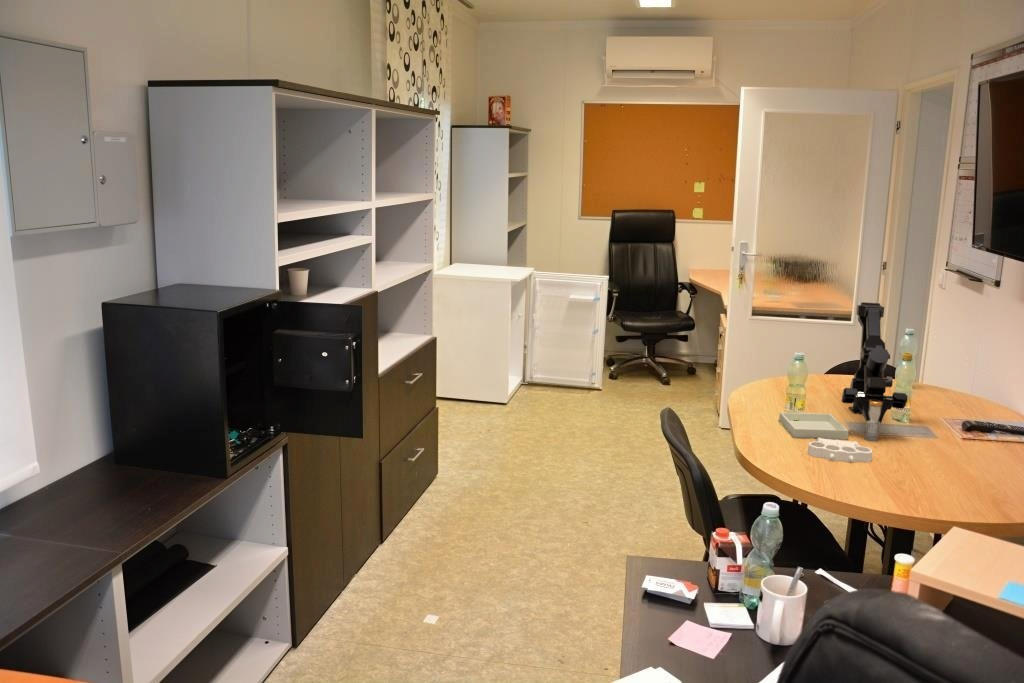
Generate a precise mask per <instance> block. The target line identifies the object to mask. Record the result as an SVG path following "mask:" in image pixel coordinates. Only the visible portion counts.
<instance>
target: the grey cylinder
mask: <svg viewBox="0 0 1024 683" xmlns="http://www.w3.org/2000/svg"><path fill="white" fill-rule="evenodd" d="M882 404H883V401H881V400H878V399H869V410H868V421H866V425H865V426H866V428H865V435H864V441H868V442H870V441H876V442H878V439H879V438H878V436H879V428H880V414H881V406H882Z"/></svg>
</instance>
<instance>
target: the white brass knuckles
mask: <svg viewBox="0 0 1024 683" xmlns="http://www.w3.org/2000/svg"><path fill="white" fill-rule="evenodd" d="M807 445H808V446H807V455H809V456H811V457H813V458H821V459H826V460H829V461H833V462H844V463H858V462H859V463H870V462H872V459H873V452H874V450H873V449H872V448H870V447H868V446H865V445H864V446H863V445H860V444H859V442H858V441H855V440H854V441H850V440H849V441H848V440H842V439H822V438H817V439H816V441H815V440H813V441H812V440H811V441H810V442H808V444H807Z"/></svg>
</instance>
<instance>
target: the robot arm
mask: <svg viewBox="0 0 1024 683" xmlns="http://www.w3.org/2000/svg"><path fill="white" fill-rule="evenodd" d="M884 314H885V306H882V305H881V303H879V302H878V303H877V302H865V301H861V303H860V304H857V306H856V315H857V322H858V323H859V324H860V327H861V340H860V355H859V359H860V360H859V367H858V369H857V370H856V372H855V374H854V375H853V378H852V379H851V381H850V386H849V387H845V388H844V389H843V391H842V394H841V402H842V403H843V404H852V406H848V409H849V410H850V411H851V412H852V413H854V414H862V416H863V418H864V419H865V422H867V421H868V410H869V399H878V400H881V401H883V404H882V406H881V414H880V422H879V424H881V423H882V421H883V420H884V416H885V414H886V412H887V411H888V410H891V409H892V408H893V409H905V407H906V405H907V402H908V395H907V393H904V392H896V391H894V392H893V393H892V395H884V394H885V393H886V391H887V390H886V388H892V386H893V382H894V381H893V376H886V377H884V376H885V373H884V371H885V369H886V367H887V365H888V362H889V360H890V359H891V354H890V353H889V351H888V349H886V342H885V341H883V339H882V335H881V334H882V333H881V319H882V318H884V316H885V315H884Z"/></svg>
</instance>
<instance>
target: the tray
mask: <svg viewBox="0 0 1024 683" xmlns="http://www.w3.org/2000/svg"><path fill="white" fill-rule="evenodd" d="M796 417H797V418H799V420H801V421H793V420H796ZM778 422H781V423H782V424H783V425H782V424H781V423H780V424H781V425H782V426H783V428H785V430H786V429H787V430H788V431H787V430H786V431H787V432H788V433H789V434H790V436H791V437H792V438H793V439H810V438H813V440H814V439H815V440H817V438H822V439H832V440H836V439H837V440H843V439H849V432H850V431H849V429H848V428H846V427H845V426H844V425H843V424H842V423H841V422H840V421H839V420H838V419H837V418H835V416H833V415H832V414H831V413H814V412H813V413H811V412H810V413H809V412H782V411H781V412H779V418H778Z"/></svg>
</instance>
